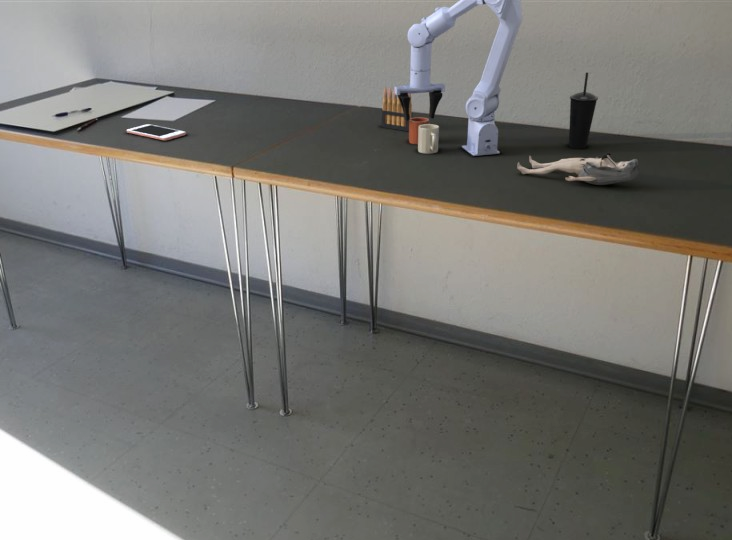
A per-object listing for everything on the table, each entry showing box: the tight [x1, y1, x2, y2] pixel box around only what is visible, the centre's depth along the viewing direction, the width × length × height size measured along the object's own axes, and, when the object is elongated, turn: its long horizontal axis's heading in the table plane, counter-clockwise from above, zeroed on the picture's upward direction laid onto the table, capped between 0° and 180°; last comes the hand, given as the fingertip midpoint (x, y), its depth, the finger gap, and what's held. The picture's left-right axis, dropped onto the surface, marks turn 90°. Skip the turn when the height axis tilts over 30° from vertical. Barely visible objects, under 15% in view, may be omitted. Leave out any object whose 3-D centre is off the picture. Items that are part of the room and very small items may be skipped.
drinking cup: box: [568, 72, 599, 149], centre depth 225 cm, size 8×8×20 cm
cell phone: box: [126, 123, 187, 142], centre depth 250 cm, size 9×18×1 cm, turn 53°
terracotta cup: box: [408, 116, 430, 145], centre depth 236 cm, size 8×6×6 cm
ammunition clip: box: [380, 86, 413, 132], centre depth 248 cm, size 11×2×12 cm, turn 53°
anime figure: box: [516, 152, 640, 186], centre depth 202 cm, size 10×7×30 cm
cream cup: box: [417, 123, 440, 155], centre depth 226 cm, size 8×6×7 cm
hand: (419, 118), depth 234 cm, fingers open, 7 cm apart
